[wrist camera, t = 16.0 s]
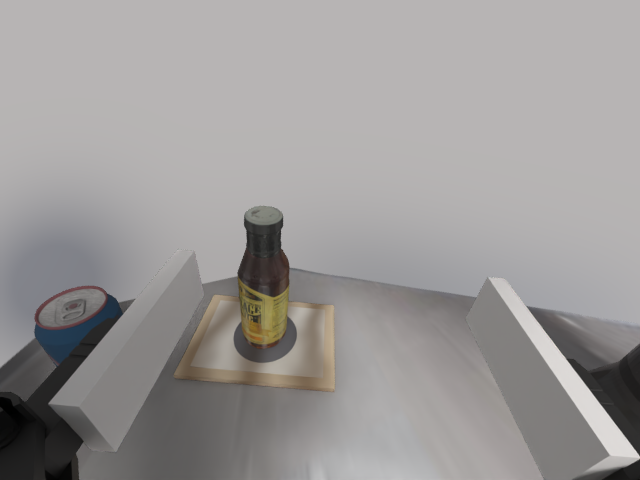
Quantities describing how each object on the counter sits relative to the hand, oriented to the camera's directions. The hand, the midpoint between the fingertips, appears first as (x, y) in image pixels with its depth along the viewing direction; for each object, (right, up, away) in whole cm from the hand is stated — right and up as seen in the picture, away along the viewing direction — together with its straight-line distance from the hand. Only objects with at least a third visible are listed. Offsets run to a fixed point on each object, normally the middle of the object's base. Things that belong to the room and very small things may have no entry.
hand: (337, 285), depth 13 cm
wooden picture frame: (-9, -12, +28) cm, 32 cm away
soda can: (-27, -15, +22) cm, 38 cm away
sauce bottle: (-9, -12, +27) cm, 31 cm away
